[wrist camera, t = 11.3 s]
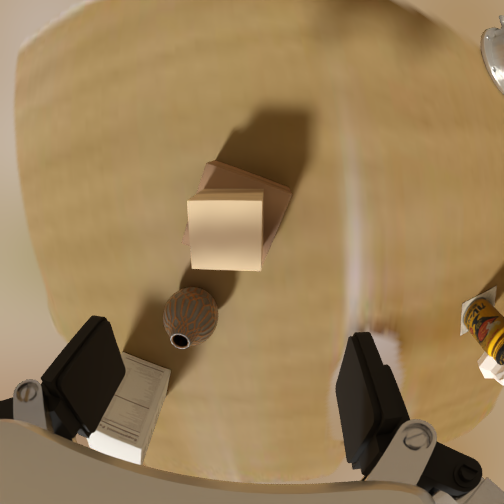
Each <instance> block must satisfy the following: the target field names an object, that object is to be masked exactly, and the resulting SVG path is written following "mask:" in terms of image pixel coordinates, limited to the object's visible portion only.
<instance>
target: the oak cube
mask: <svg viewBox="0 0 504 504" xmlns="http://www.w3.org/2000/svg"><path fill="white" fill-rule="evenodd" d="M187 208H188V224H189V239H190V252H191V264H192V269H210V270H240V271H261V265H262V252H263V210H264V189H203V190H201V191H200V192H199V193H197V194H196V195H194V196H193V197H192V198H190V199H189V200H187Z"/></svg>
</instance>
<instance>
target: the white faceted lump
mask: <svg viewBox="0 0 504 504" xmlns="http://www.w3.org/2000/svg"><path fill="white" fill-rule="evenodd" d="M477 362H478V365H479V368H480V370H481V372H482V374H483V376H484V378H494V379H495V380H496V381H497V382H499V383H500V384H502V385H503V386H504V365H499V364H497V362H496V361H495V360H494V359H493V357H491V356H489V355H488V354H487V353H486V352H484V353H483V355H482V356H481V357H480V359H479V360H478V361H477Z"/></svg>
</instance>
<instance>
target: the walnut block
mask: <svg viewBox="0 0 504 504" xmlns="http://www.w3.org/2000/svg"><path fill="white" fill-rule="evenodd" d="M203 189H264V210H263V252H262V265H263V263H264V261H265V258H266V256H267V254H268V251H269V249H270V247H271V244H272V242H273V239H274V237H275V235H276V232H277V230H278V228H279V225H280V223H281V220H282V218H283V216H284V213H285V211H286V208H287V206H288V204H289V201H290V199H291V196H292V193H291V190H290V188H289V187H287V186H284V185H282V184H279V183H277V182H274V181H272V180H269V179H266V178H264V177H261V176H258V175H256V174H253V173H250V172H247V171H245V170H242V169H239V168H236V167H234V166H231V165H228V164H225V163H222V162H219V161H216V160H214V161H211V162H208V163H206V166H205V169H204V172H203V175H202V178H201V181H200V184H199V187H198V190H197V193H199V192H200V191H201V190H203ZM197 193H196V194H197ZM182 243H183V244H185V245H188V246H190V239H189V224H188V222H187V226H186V229H185V233H184V236H183V239H182ZM262 265H261V268H262ZM259 272H260V271H259Z"/></svg>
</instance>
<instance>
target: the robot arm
mask: <svg viewBox="0 0 504 504" xmlns="http://www.w3.org/2000/svg"><path fill="white" fill-rule="evenodd" d="M499 19H500V22H501V25H502V27H501V29H498V28H489V29H487V30H485V31H484V32H483V34H482V36H481V51H482V56H483V59H484V62H485V65H486V68H487V70H488V72H489V74H490V76H491V78H492V80H493V81H494V83H495V84H496V86H497V87H498V89H499V90H500V91H501V92H502V93H503V95H504V16H502V15H500V16H499ZM125 373H126V368H125V365H124V363H123V360H122V357H121V354H120V351H119V349H118V346H117V343H116V340H115V337H114V333H113V330H112V327H111V324H110V322H109V321H107V319H106V318H105V317H100V316H91V317H90V318H89V320H88V321H87V322H86V323H85V324H84V325H83V327H82V328H81V329H80V330H79V331H78V332H77V334H76V335H75V336H74V337H73V338H72V339H71V341H70V342H69V343H68V344H67V345H66V347H65V348H64V349H63V350H62V352H61V353H60V354H59V355H58V357H57V358H56V359H55V360H54V362H53V363H52V364H51V365H50V367H49V368H48V369H47V370H46V372H45V373H44V374H43V376H42V377H41V380H42V381H43V382H42V384H40V383H39V382H38V381H36V380H33V379H29V380H25V381H22V382H21V383H19V384H18V385H17V387H16V388H15V390H14V394H13V398H9V399H6V400H3V401H0V504H504V492H503V491H502V490H501V489H500V488H499V487H498V486H497V485H496V484H494V483H493V482H492V481H491V480H490V479H489V478H486V479H484V478H483V477H482V468H481V466H480V464H479V463H478V461H476V460H475V459H473V458H471V457H469V456H467V455H464V454H462V453H459V452H458V451H455V450H453V449H451V448H449V447H447V446H445V445H443V444H441V443H439V442H437V434H436V431H435V429H434V428H433V427H432V425H431V424H429V423H428V422H426V421H423V420H420V419H413V420H410V418H409V415H408V412H407V409H406V407H405V404H404V401H403V399H402V396H401V393H400V391H399V388H398V385H397V383H396V380H395V378H394V375H393V373H392V371H391V369H390V367H389V366H388V365H383V363H382V360H381V358H380V355H379V353H378V350H377V348H376V345H375V343H374V340H373V338H372V336H371V333H370V332H355V333H354V335H353V336H350V337H349V338H348V342H347V346H346V350H345V354H344V358H343V361H342V365H341V369H340V372H339V376H338V379H337V383H336V397H337V402H338V408H339V414H340V419H341V425H342V432H343V438H344V445H345V452H346V458H347V462H348V463H352V468H353V469H361V472H362V474H363V475H364V477H363V478H362V480H361V481H351V482H335V483H321V484H254V483H240V482H229V481H220V480H212V479H205V478H199V477H192V476H187V475H181V474H176V473H172V472H167V471H162V470H158V469H154V468H150V467H146V466H142V465H139V464H135V463H132V462H128V461H125V460H122V459H119V458H116V457H113V456H110V455H107V454H104V453H101V452H98V451H95V450H93V449H90V448H88V447H85V446H83V445H80V444H78V443H77V441H76V437H75V436H76V434H77V433H78V434H79V435H81V436H84V437H86V438H89V437H90V435H91V433H94V432H95V431H96V429H97V427H98V425H99V423H100V421H101V419H102V417H103V415H104V414H105V412H106V410H107V408H108V406H109V404H110V402H111V400H112V398H113V397H114V395H115V393H116V391H117V389H118V387H119V385H120V384H121V382H122V380H123V378H124V376H125Z"/></svg>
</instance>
